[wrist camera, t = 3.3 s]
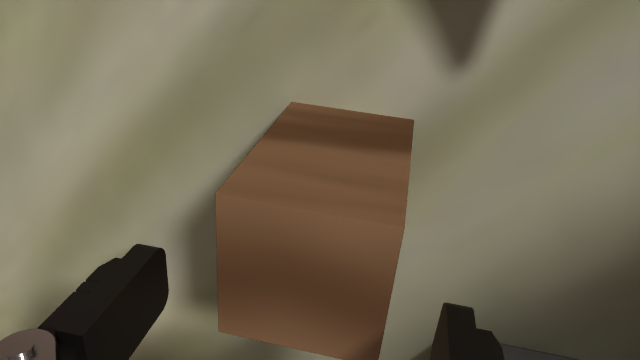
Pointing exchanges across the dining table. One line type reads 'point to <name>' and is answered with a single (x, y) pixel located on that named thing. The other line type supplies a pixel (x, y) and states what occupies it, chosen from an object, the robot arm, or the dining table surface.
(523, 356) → the slate base
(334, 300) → the walnut block
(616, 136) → the dining table surface
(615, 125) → the dining table surface
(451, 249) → the dining table surface
